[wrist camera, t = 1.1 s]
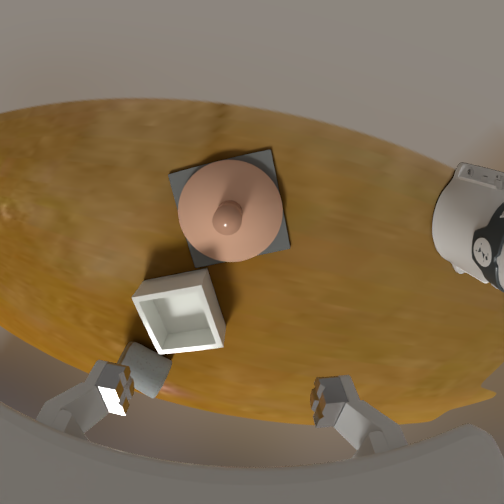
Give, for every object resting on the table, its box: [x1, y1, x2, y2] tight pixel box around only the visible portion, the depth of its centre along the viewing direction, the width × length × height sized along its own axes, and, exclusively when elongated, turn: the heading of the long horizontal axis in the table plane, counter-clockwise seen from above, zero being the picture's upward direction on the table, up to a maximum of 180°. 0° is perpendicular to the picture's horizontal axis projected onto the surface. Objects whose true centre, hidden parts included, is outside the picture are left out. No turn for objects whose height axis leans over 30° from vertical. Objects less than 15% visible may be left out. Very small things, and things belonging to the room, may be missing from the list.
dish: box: [132, 268, 226, 354], centre depth 38 cm, size 10×10×5 cm
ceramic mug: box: [117, 341, 172, 398], centre depth 41 cm, size 11×8×8 cm
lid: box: [178, 160, 283, 262], centre depth 33 cm, size 13×13×5 cm
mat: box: [168, 150, 290, 268], centre depth 35 cm, size 13×13×1 cm
